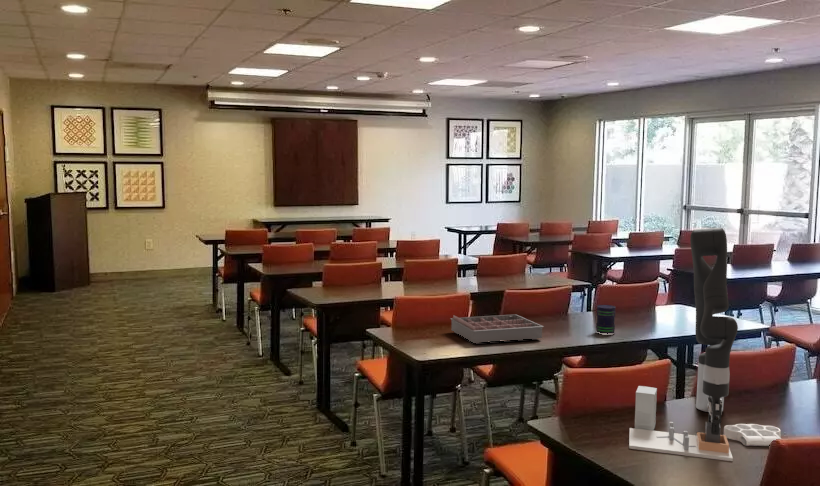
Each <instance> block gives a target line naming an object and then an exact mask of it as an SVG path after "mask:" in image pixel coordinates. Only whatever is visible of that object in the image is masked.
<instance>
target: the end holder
mask: <svg viewBox="0 0 820 486" xmlns="http://www.w3.org/2000/svg"><path fill="white" fill-rule="evenodd" d="M696 436H697V439H696V440H697V444H698V449H699V450H707V451H715V452H724V453H729V448H730V443H729V441H728V438H727V437H726V435H724V434H720V443H713V442H704V441H705V432H700V431H699V432H696ZM722 443H723V444H722Z"/></svg>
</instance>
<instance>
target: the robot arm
mask: <svg viewBox="0 0 820 486" xmlns="http://www.w3.org/2000/svg"><path fill="white" fill-rule="evenodd" d="M689 239H690V241H689V242H690V243H689V244H690V249H691V250H690V251H691V258H692V266H693V291H694V292H693V293H694V304H695V339H696V342H697V343H698V344H701V345H706V346H707V347H706V348H705V352H702V353H700V354H699V355H698V360H697V361H698V362H697V363H698V364H697V383H696V384H697V386H696V405H695V407H696V409H698V410H700V411H703V412H707V413H708V420H707V422H712V423H711V434H714V435H718V434H719V424H720V425H721V424H722V415H723V412H724V403H725V398H727V397H728V396H729V392H730V391H729V389H730V377H731V375H730V356H731V351H732V347H733V344H734V342H735V339H736V336H737V334H738V332H739V331H738V329H739V326H738V322H737V320H736V319H735V318H734V317H730V316H714V315H718V314H722V313H725V312H727V311H728V310H729V308H730V304H729V295H728V287H727V286H728V284H727V282H728V280H727V276H728V274H727V273H728V240H727V233H726V231H725V230H724V228H722V227H710V228H707V227H706V228H695V229H693V230H692V231H691V233H690V238H689ZM710 256H711V257H712V256H714V257H715V256H716V262H715V264H714V267H711V266H710V265H709V263H707V262H706V260H705V259H704V257H710Z"/></svg>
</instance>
